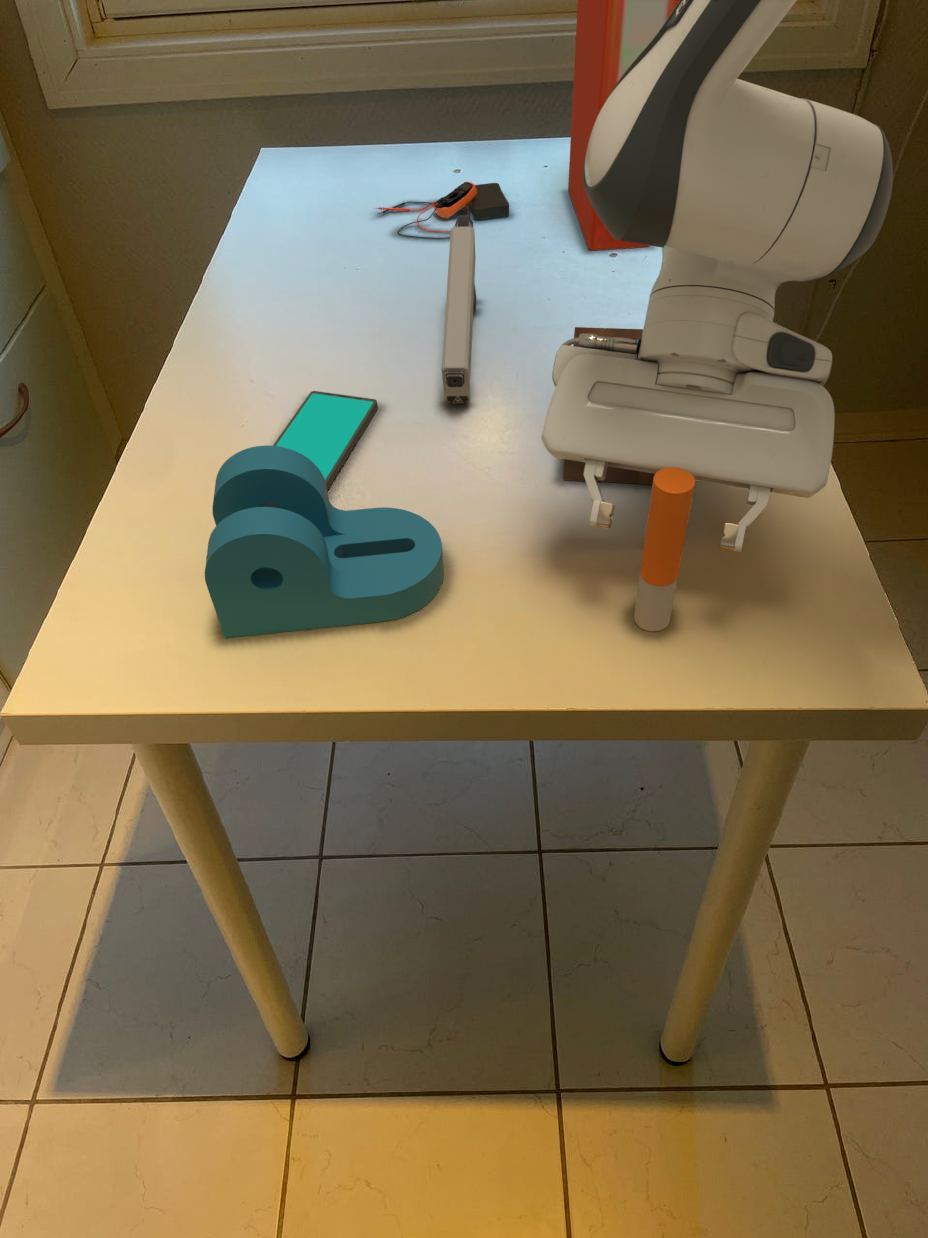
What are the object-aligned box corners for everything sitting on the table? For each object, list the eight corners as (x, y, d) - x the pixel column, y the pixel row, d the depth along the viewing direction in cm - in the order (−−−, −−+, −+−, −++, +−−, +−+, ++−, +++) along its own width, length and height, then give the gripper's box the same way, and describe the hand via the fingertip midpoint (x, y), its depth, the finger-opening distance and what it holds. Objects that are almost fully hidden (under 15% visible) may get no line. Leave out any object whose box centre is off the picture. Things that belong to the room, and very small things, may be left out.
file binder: (626, 188, 127) (651, -103, 104) (652, 246, 116) (687, -67, 92) (567, 192, 127) (579, -99, 104) (588, 250, 116) (607, -62, 92)
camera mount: (224, 638, 74) (191, 540, 66) (233, 548, 81) (203, 451, 73) (449, 614, 75) (442, 515, 67) (438, 527, 82) (430, 429, 74)
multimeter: (375, 244, 119) (372, 218, 116) (371, 204, 127) (368, 179, 124) (514, 232, 120) (514, 206, 117) (502, 193, 128) (502, 168, 125)
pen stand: (667, 382, 96) (675, 329, 91) (671, 485, 84) (679, 431, 80) (572, 379, 97) (574, 326, 92) (563, 480, 86) (565, 426, 81)
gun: (478, 276, 110) (475, 201, 101) (471, 441, 97) (467, 372, 89) (457, 276, 110) (452, 201, 101) (447, 441, 97) (440, 372, 89)
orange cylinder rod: (669, 607, 74) (694, 467, 64) (670, 633, 72) (696, 493, 62) (633, 604, 75) (653, 465, 64) (633, 630, 73) (653, 491, 62)
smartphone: (378, 399, 94) (320, 492, 84) (378, 406, 94) (322, 499, 85) (310, 390, 95) (247, 479, 86) (312, 397, 96) (249, 487, 86)
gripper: (554, 317, 66) (517, 510, 67) (857, 355, 61) (813, 562, 62) (566, 340, 72) (532, 517, 73) (842, 377, 67) (802, 565, 68)
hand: (663, 538), depth 67 cm, fingers open, 8 cm apart
